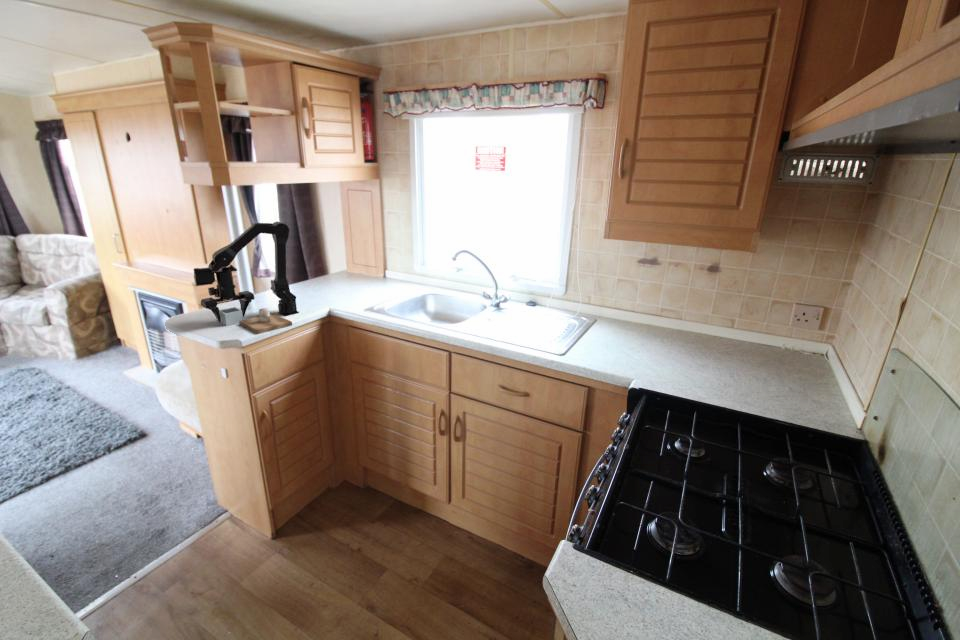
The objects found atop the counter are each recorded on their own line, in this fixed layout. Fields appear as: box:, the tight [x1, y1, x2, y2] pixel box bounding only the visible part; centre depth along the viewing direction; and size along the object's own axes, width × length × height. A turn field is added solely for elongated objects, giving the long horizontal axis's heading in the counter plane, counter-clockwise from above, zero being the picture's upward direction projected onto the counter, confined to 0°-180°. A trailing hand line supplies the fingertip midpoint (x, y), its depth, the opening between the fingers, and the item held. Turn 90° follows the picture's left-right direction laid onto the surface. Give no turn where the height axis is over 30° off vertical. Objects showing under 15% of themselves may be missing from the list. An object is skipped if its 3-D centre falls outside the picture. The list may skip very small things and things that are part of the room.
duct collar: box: [219, 306, 244, 327], centre depth 186 cm, size 7×7×5 cm
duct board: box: [238, 307, 293, 335], centre depth 184 cm, size 14×16×6 cm
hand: (231, 319), depth 187 cm, fingers open, 9 cm apart
